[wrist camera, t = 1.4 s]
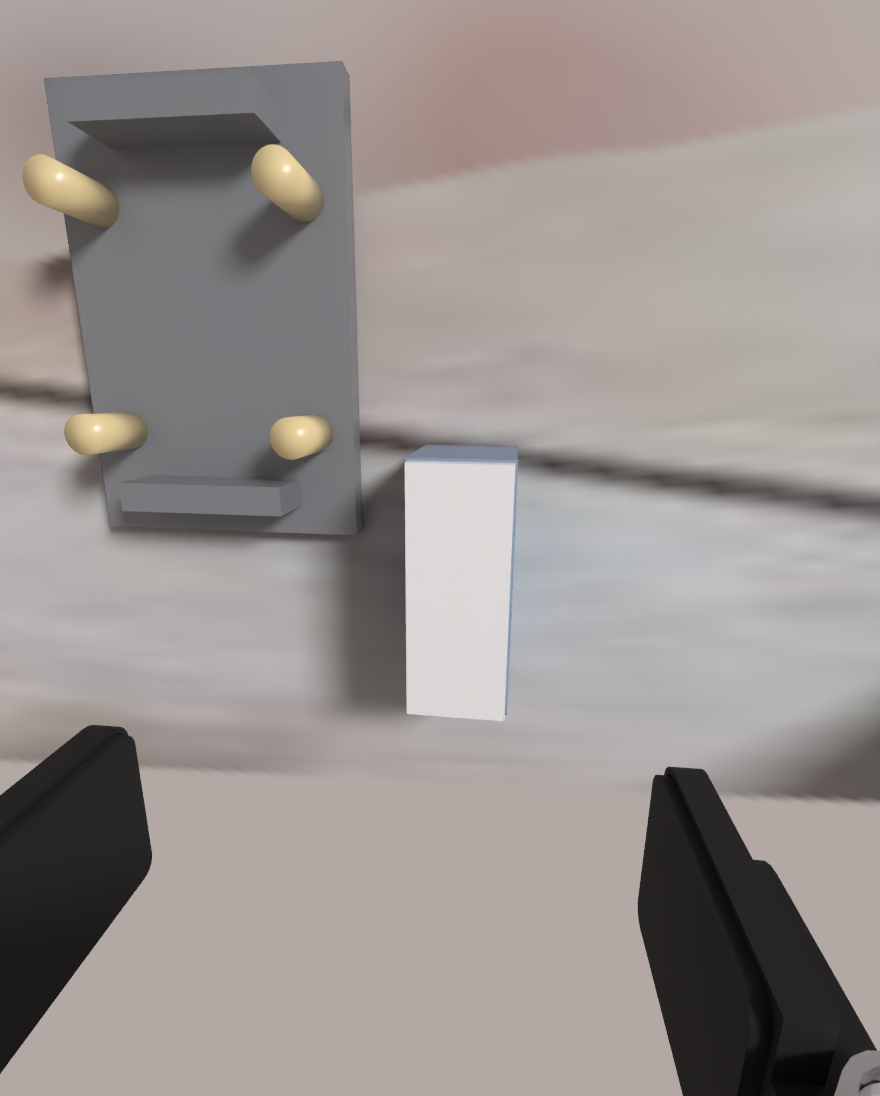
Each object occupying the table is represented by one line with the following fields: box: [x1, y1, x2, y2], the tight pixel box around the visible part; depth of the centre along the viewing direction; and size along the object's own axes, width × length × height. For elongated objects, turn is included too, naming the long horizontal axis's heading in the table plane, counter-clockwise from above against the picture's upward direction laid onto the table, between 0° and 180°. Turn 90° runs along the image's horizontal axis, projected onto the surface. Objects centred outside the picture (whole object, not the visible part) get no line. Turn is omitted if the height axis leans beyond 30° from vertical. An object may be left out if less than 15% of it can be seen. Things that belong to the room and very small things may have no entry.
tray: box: [23, 61, 362, 535], centre depth 23 cm, size 12×18×4 cm, turn 179°
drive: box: [405, 445, 518, 721], centre depth 24 cm, size 4×10×6 cm, turn 179°
